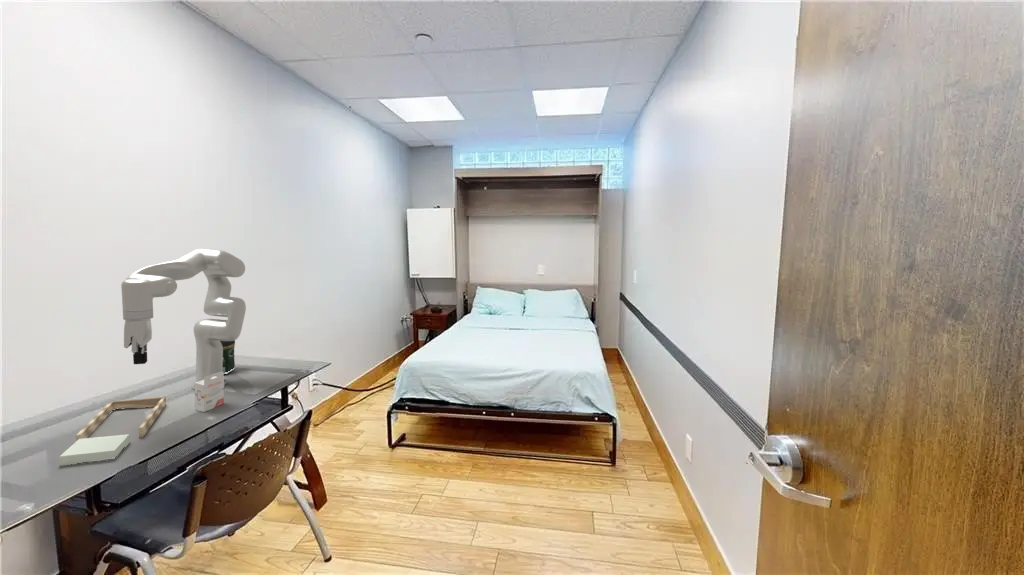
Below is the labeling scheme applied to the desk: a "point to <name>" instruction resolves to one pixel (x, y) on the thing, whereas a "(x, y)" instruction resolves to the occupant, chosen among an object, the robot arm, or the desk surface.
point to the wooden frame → (134, 403)
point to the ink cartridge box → (209, 392)
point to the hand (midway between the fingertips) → (140, 363)
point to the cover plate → (94, 449)
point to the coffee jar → (228, 355)
